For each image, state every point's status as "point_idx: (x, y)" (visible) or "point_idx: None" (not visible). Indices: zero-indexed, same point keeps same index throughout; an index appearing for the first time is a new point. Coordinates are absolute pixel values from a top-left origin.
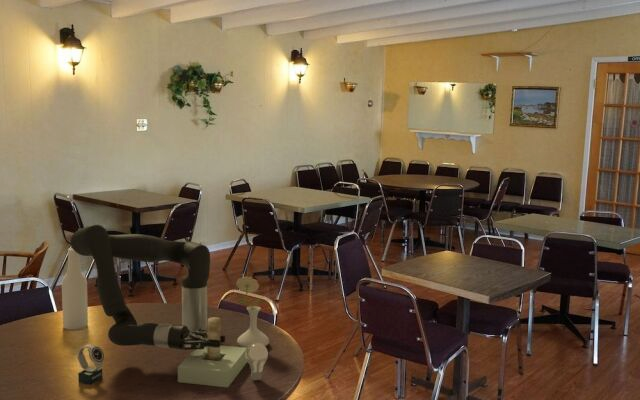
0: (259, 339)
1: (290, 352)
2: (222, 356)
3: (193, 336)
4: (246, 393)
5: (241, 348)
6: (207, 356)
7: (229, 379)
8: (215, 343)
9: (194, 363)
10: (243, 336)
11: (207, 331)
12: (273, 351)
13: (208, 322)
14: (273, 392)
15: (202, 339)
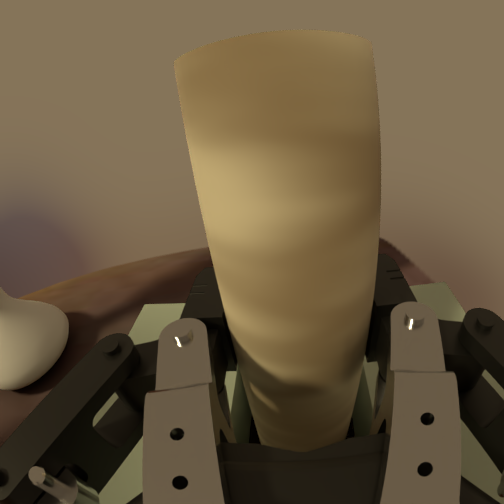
0: (45, 308)
1: (107, 275)
2: (238, 392)
3: (457, 497)
4: (427, 283)
5: (150, 320)
6: (332, 443)
7: None
8: (393, 269)
9: (467, 466)
10: (7, 348)
11: (91, 402)
12: (88, 306)
13: (365, 73)
14: (381, 245)
15: (441, 350)
